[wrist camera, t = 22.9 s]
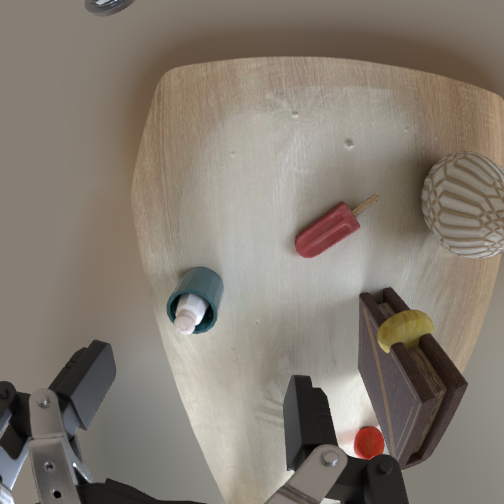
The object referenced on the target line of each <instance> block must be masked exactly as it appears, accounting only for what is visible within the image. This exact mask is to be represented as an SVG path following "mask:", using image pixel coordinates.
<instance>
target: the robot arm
mask: <svg viewBox="0 0 504 504" xmlns="http://www.w3.org/2000/svg"><path fill="white" fill-rule="evenodd" d="M87 1H88V2H90V4H92V5H93V6H95V7H106V6H109V5H111V4H114V3H115V2H117V1H119V0H87ZM115 375H116V366H115V361H114V357H113V352H112V347H111V345H110V344H109V343H106V342H102V341H98V340H94V341H93V342H92V343H91V344H90V345H89V347H88V348H85V347H83V348H82V349H80V350H79V351H77V352H75V353H74V355H73V356H72V357H71V358H70V360H69V362H67V364H66V365H65V367H64V368H63V369H62V370H61V371H60V373H59V374H58V376H57V377H56V378H55V380H54V381H53V382H52V384H51V385H50V386H49V388H48V389H45V388H43V389H38V390H36V391H34V392H33V393H32V394H27V393H22V392H17V391H16V389H15V387H14V386H13V385H12V383H10V382H7V381H1V382H0V434H1V433H2V431H3V429H4V428H5V426H6V424H7V423H9V425H8V427H7V429H6V431H5V432H4V434H3V436H2V437H1V439H0V504H15V502H14V500H13V495H12V492H11V489H12V487H13V484H14V482H15V480H16V478H17V475H18V473H19V471H20V469H21V466H22V464H23V462H24V460H25V458H26V456H27V454H28V452H29V454H30V461H31V465H32V471H33V476H34V480H35V485H36V489H37V493H38V497H39V500H40V502H39V503H36V504H205V503H199V502H193V501H162V500H157V499H155V498H153V497H150V496H148V495H146V494H145V493H143V492H141V491H139V490H137V489H136V488H134V487H132V486H129V485H126V484H123V483H120V482H117V481H114V480H111V479H108V478H107V479H106V482H105V483H94V481H93V479H92V477H91V475H90V473H89V471H88V469H87V467H86V464H85V461H84V458H83V455H82V452H81V448H80V444H79V441H78V437H77V434H76V431H77V429H78V427H79V428H82V429H84V430H87V429H88V427H89V425H90V423H91V421H92V420H93V418H94V416H95V414H96V412H97V410H98V408H99V406H100V404H101V403H102V401H103V399H104V397H105V395H106V394H107V392H108V390H109V388H110V386H111V385H112V383H113V381H114V379H115ZM283 415H284V430H285V446H286V463H287V471H295V473H294V474H293V475H292V476H291V478H290V479H289V480H288V481H287V482H286V483H285V484H284V485H283V486H281V487H280V488H279V489H278V490H277V491H276V492H275V493H274V494H273V495H272V496H271V497H270V498H269V499H268V500H267V501H266V502H265V503H264V504H320V503H321V501H322V500H323V498H328V499H334V500H340V501H341V504H409V502H408V498H407V494H406V489H405V485H404V481H403V477H402V473H401V469H400V465H399V463H398V461H397V460H396V459H395V458H394V457H392V456H390V455H386V454H380V455H376V456H374V457H373V458H372V459H371V460H366V459H360V458H355V457H351V456H349V455H347V454H346V453H345V452H344V451H343V450H342V449H341V448H340V447H339V446H338V443H337V439H336V435H335V430H334V425H333V421H332V416H331V412H330V408H329V403H328V399H327V396H326V395H325V393H324V392H323V391H322V389H321V388H313V387H312V382H311V378H310V376H304V375H292V376H291V379H290V382H289V385H288V388H287V392H286V395H285V398H284V404H283Z"/></svg>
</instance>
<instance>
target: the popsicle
mask: <svg viewBox="0 0 504 504" xmlns="http://www.w3.org/2000/svg"><path fill="white" fill-rule="evenodd" d="M377 200H378V195H373V196H372V197H370V198H369V199H368V200H366V201H365V202H363V203H362V204H360V205H359V206H358V207H356V208H355V209H353V210H352V211H351V210H350V208H349V207H348V205H347V203H345V202H343V201H342V202H341V203H339V204H338V205H336V206H335V207H334V208H332V209H331V210H330V211H328V212H327V213H326V214H324V215H323V216H321V217H320V218H319V219H317V220H316V221H315V222H313V223H312V224H310V225H309V226H308V227H306V228H305V229H304V230H302V231H301V232H300V233H299V234H298V235H297V236H296V239H295V247H296V250H297V252H298V253H299V254H300V255H301V256H303V257H305V258H312V257H315V256H317V255H319V254H320V253H322V252H323V251H325V250H327V249H328V248H330V247H331V246H333V245H334V244H336V243H338V242H339V241H341V240H342V239H344V238H345V237H347V236H348V235H350V234H351V233H353V232H355V231H356V230H358V229H359V228H360V225H359V223H358V221H357V220H356V218H355V216H356V215H357V214H359V213H360V212H362V211H363V210H364V209H366V208H367V207H369V206H370V205H371V204H373V203H374V202H376V201H377Z"/></svg>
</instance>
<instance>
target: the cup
mask: <svg viewBox="0 0 504 504" xmlns="http://www.w3.org/2000/svg"><path fill="white" fill-rule="evenodd" d="M186 292H187V293H196V294H198V295H200V296H202V297H204V298H205V299H206V300H207V301H208V302H209V303H210V305H209V307H208V309H207V310H206V312H205V314H204V316H203V318H202V320H201V321H200V323H199V324H197V325H195V329H194V331H193V332H192V333H193V334H199V333H204V332H207V331H208V330H209V329H211V328H212V327H213V326H214V324H215V322H216V321H217V317H218V313H219V309H220V306H221V302H222V298H223V292H224V286H223V282H222V280H221V278H220V277H219V276H218V274H216V273H215V272H214V271H212V270H211V269H208V268H204V267H196V268H192V269H190V270H188V271H187V272H186V273H185V274H184V275H183V276H182V278H181V279H180V281H179V283H178V284H177V286H176V288H175V289H174V291H173V293H172V294H171V296H170V298H169V300H168V303H167V314H168V316H169V318H170V320H171V322H172V323H173V324H174V320H175V319H176V316H175V315H176V311H177V307H178V303H179V300H180V297H181V294H182V293H186Z"/></svg>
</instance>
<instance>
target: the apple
mask: <svg viewBox="0 0 504 504" xmlns="http://www.w3.org/2000/svg"><path fill="white" fill-rule="evenodd" d="M384 446H385V445H384V438H383V435H382V433H381V432H380V431H379V430H378V429H377V428H375V427H366V428H363V429H361V430H360V431H359V432H358V433H357V435H356V437H355V441H354V451H355V454H356V455H357V456H358V457H360V458H361V459H366V460H371V459H372V458H373V457H374V456H376V455H380V454H382V453H383V451H384Z"/></svg>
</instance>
